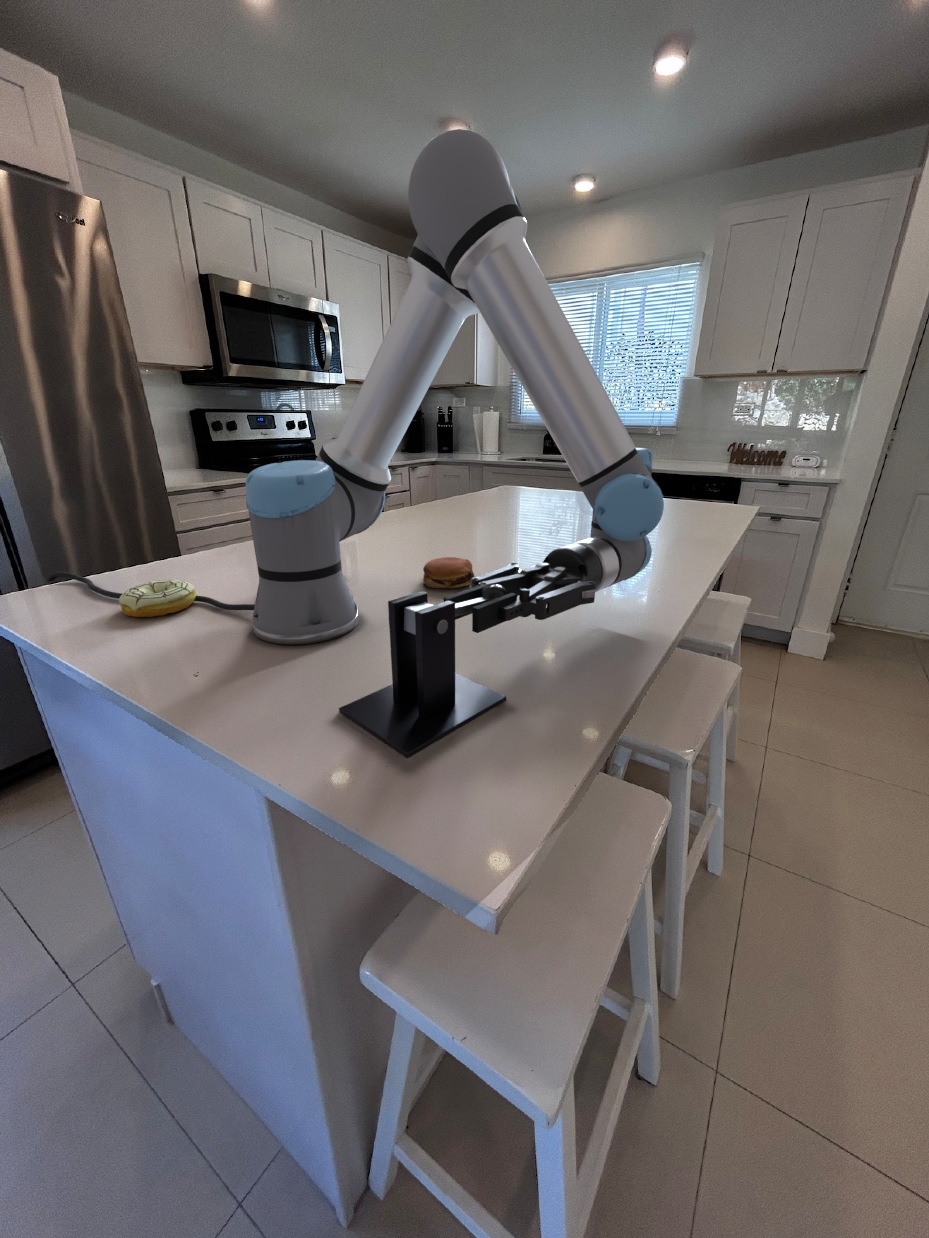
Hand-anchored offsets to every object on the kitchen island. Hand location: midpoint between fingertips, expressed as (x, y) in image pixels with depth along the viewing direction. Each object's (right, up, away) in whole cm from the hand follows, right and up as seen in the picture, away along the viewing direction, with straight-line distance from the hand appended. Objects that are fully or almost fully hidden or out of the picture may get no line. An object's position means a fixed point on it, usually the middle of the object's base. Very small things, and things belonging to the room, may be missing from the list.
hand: (460, 614), depth 54 cm
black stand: (-4, -11, 0) cm, 11 cm away
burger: (-3, +6, +42) cm, 43 cm away
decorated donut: (-50, +1, +29) cm, 58 cm away
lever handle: (0, -1, 0) cm, 1 cm away
